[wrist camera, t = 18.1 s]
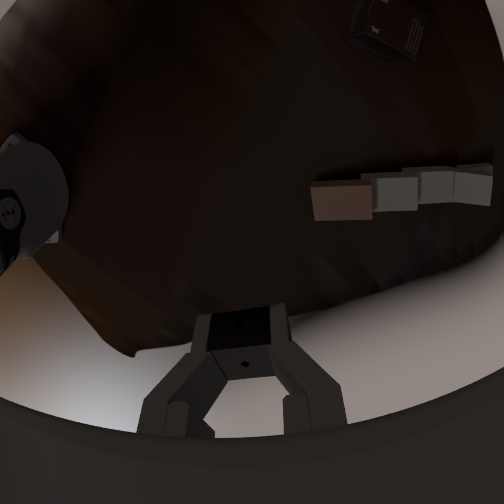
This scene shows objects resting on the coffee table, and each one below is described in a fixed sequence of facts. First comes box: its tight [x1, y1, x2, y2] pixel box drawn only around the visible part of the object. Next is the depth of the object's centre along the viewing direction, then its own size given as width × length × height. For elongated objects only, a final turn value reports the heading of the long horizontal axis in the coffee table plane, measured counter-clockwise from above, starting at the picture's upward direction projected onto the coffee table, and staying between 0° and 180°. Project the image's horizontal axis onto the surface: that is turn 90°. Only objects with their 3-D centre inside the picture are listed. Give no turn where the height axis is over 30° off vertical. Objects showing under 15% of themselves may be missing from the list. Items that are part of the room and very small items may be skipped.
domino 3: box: [401, 166, 454, 204], centre depth 30 cm, size 2×4×7 cm
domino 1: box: [310, 179, 372, 221], centre depth 32 cm, size 2×4×7 cm
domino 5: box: [450, 167, 493, 206], centre depth 29 cm, size 2×4×7 cm
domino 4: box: [457, 163, 493, 174], centre depth 31 cm, size 2×4×7 cm
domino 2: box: [361, 172, 418, 212], centre depth 31 cm, size 2×4×7 cm
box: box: [340, 0, 429, 62], centre depth 19 cm, size 6×6×7 cm
